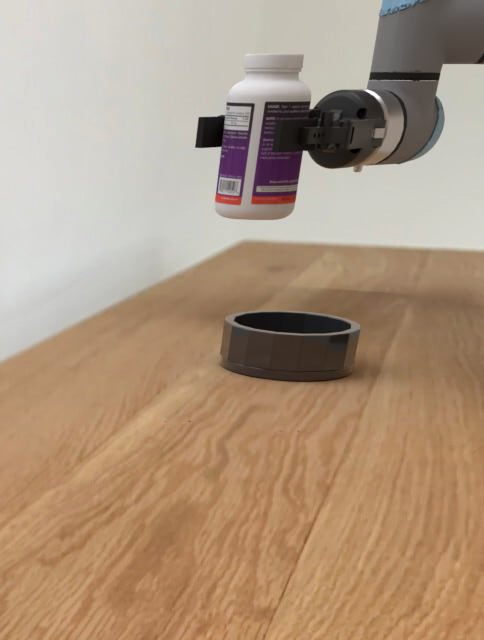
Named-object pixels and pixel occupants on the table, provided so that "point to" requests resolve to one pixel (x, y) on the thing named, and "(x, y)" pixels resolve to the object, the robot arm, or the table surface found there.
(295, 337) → the ring
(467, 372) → the table surface
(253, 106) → the pill bottle
